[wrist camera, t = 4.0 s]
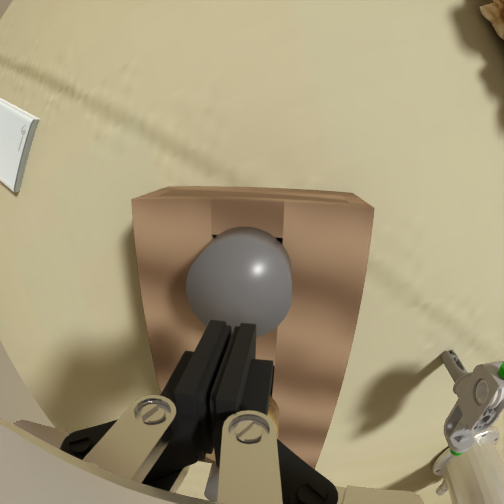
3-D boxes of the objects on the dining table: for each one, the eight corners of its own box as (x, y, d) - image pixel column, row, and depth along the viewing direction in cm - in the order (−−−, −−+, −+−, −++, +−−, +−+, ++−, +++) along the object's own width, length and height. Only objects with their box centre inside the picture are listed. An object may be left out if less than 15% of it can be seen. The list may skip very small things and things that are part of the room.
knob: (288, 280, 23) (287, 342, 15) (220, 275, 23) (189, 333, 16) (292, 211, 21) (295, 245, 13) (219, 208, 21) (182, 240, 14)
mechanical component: (420, 391, 27) (447, 460, 17) (452, 311, 23) (503, 378, 14) (441, 389, 26) (471, 454, 17) (474, 311, 23) (526, 372, 14)
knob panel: (312, 429, 30) (313, 471, 24) (192, 418, 31) (178, 457, 25) (352, 193, 21) (374, 208, 16) (167, 186, 23) (131, 199, 17)
